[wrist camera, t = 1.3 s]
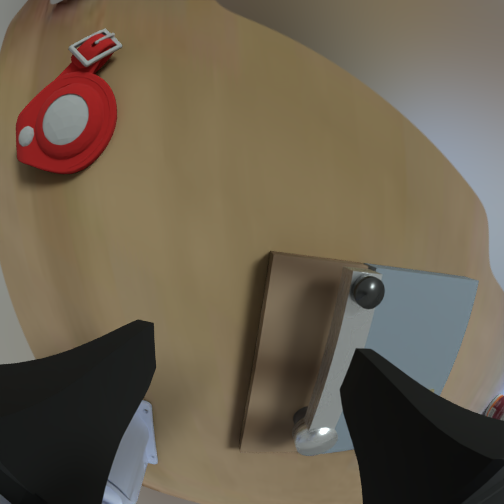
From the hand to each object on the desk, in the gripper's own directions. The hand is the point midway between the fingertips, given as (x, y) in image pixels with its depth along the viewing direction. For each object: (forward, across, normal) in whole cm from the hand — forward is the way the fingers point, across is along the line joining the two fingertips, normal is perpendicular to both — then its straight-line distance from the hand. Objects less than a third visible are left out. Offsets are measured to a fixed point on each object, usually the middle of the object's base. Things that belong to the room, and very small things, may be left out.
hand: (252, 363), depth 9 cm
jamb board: (+10, -4, +7) cm, 13 cm away
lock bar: (+7, -6, +5) cm, 11 cm away
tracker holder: (+11, +16, -11) cm, 22 cm away
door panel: (+10, -14, +8) cm, 19 cm away
